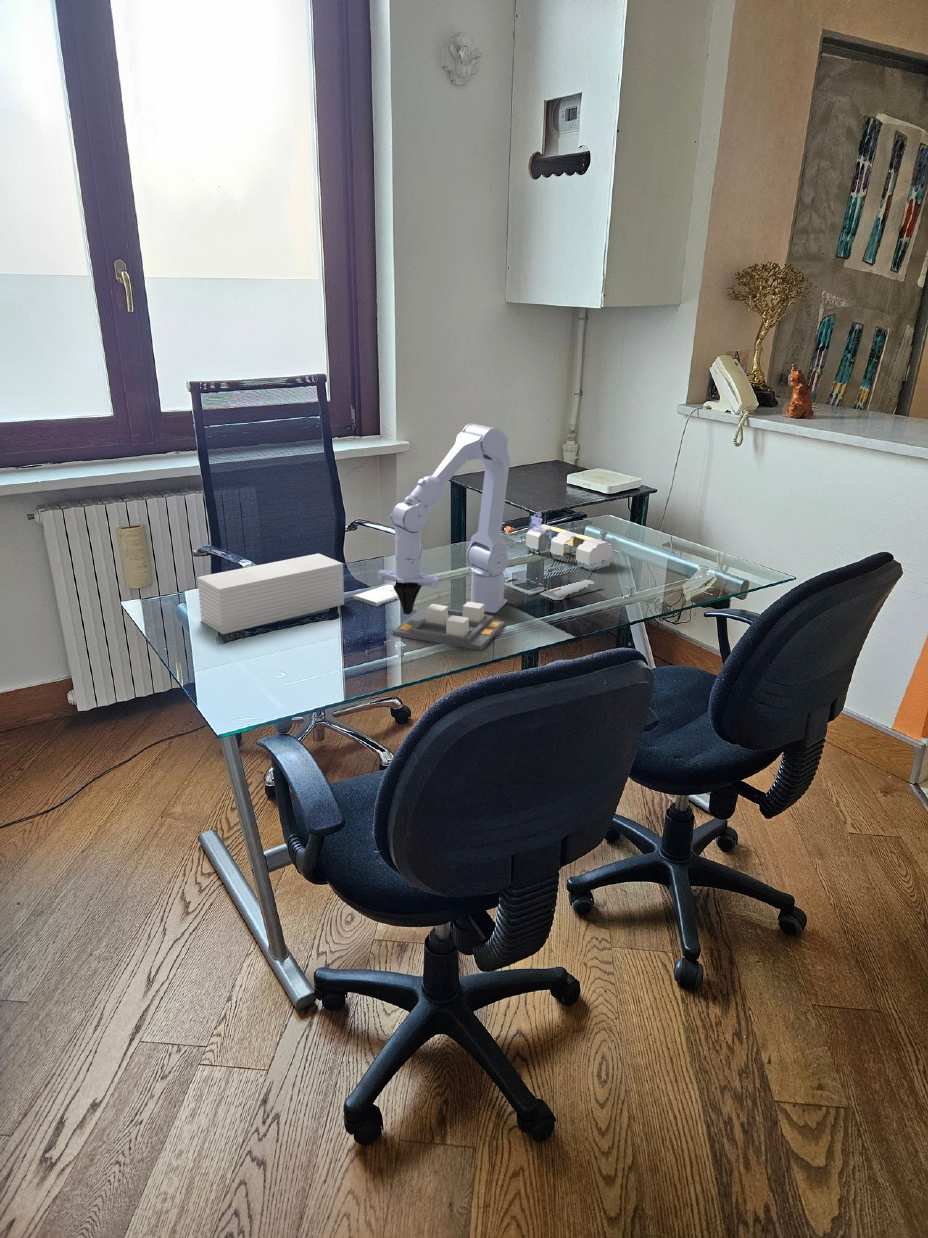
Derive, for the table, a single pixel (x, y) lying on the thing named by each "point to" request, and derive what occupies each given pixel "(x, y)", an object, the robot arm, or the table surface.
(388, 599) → the external hard drive
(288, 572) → the stack of papers
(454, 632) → the white block
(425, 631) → the switch bank
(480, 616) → the white block
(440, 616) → the white block
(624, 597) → the table surface
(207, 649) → the table surface
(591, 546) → the diorama
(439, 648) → the table surface
